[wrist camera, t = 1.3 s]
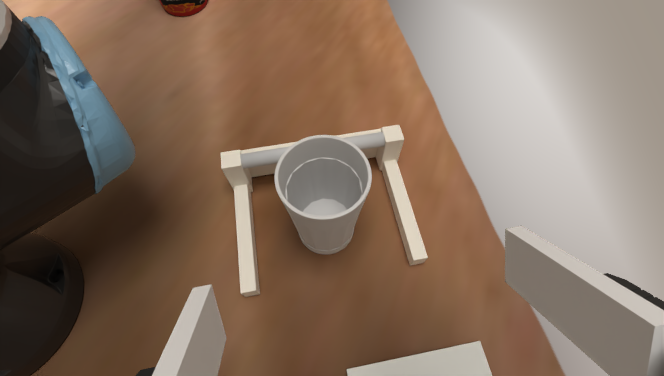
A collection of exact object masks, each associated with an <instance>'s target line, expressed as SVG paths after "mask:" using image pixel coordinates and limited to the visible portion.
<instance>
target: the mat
mask: <svg viewBox="0 0 664 376" xmlns="http://www.w3.org/2000/svg"><path fill="white" fill-rule="evenodd" d="M347 375H348V376H492V373H491V371H490V368H489V365H488V362H487V359H486V357H485V354H484V351H483V348H482V345H481V342H480V341H477V342H472V343H467V344H463V345H458V346H453V347H449V348H444V349H439V350H435V351H430V352H425V353H421V354H416V355H411V356H407V357H402V358H397V359H393V360H388V361H383V362H378V363H374V364H369V365H364V366H360V367H355V368H350V369H347Z"/></svg>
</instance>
